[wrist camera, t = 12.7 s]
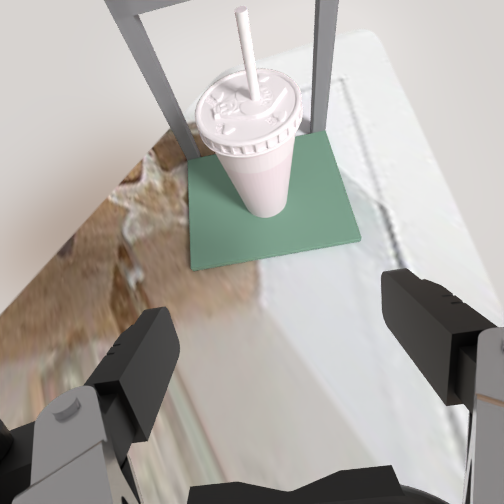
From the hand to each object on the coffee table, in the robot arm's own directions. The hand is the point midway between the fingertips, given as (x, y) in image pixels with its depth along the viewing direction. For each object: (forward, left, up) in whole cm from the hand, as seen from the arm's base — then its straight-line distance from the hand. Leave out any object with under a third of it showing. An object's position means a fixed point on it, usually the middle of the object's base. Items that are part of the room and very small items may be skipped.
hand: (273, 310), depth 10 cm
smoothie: (0, +12, -10) cm, 16 cm away
